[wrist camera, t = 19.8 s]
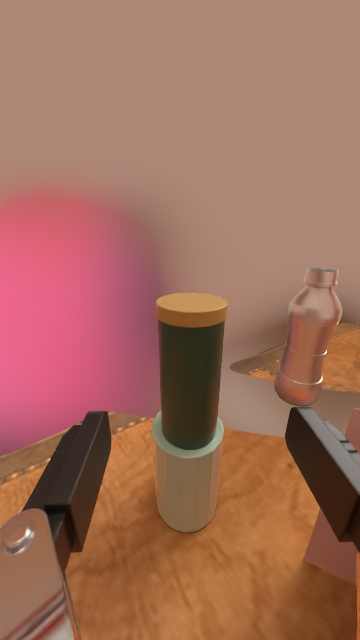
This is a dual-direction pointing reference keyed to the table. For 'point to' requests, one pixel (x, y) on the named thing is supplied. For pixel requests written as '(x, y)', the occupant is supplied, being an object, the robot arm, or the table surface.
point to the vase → (186, 480)
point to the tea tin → (190, 366)
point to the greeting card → (323, 540)
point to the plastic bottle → (308, 337)
